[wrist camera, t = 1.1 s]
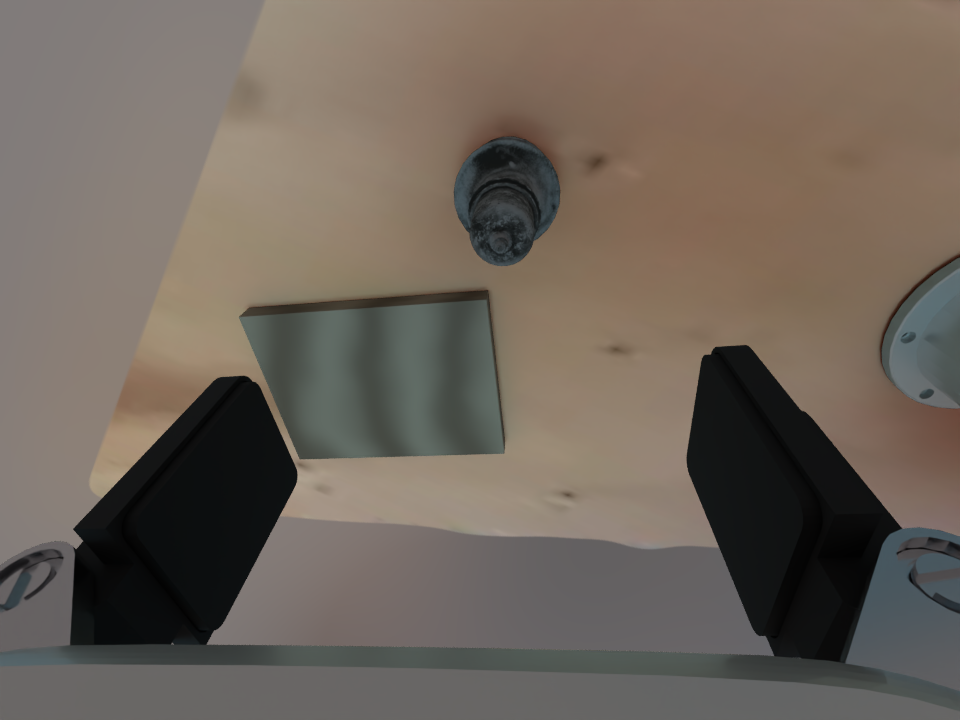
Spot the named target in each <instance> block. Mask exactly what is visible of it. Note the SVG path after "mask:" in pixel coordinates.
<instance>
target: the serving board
mask: <svg viewBox="0 0 960 720" xmlns="http://www.w3.org/2000/svg"><path fill="white" fill-rule="evenodd" d="M239 319H240V321H241V323H242V326H243V328H244V330H245V333H246V335H247V337H248V340H249V342H250V344H251V347H252V349H253V351H254V354H255V356H256V358H257V361H258V363H259V365H260V368H261V370H262V372H263V375H264V377H265V379H266V382H267V384H268V386H269V389H270V391H271V393H272V396H273V398H274V400H275V403H276V405H277V407H278V410H279V412H280V414H281V417H282V419H283V421H284V424H285V426H286V428H287V431H288V433H289V435H290V438H291V440H292V442H293V445H294V447H295V449H296V452H297V454H298V456H299V459H328V458H363V457H398V456H433V455H468V454H504V450H505V437H504V429H503V420H502V411H501V402H500V393H499V384H498V375H497V367H496V358H495V349H494V340H493V331H492V322H491V313H490V305H489V296H488V291H474V292H461V293H447V294H433V295H420V296H406V297H392V298H378V299H365V300H351V301H337V302H323V303H310V304H296V305H282V306H269V307H255V308H248V309H247V310H246V311H245V312H244V313H243V314H242V315H241V316H240V317H239Z"/></svg>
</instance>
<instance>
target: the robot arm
mask: <svg viewBox="0 0 960 720" xmlns="http://www.w3.org/2000/svg"><path fill="white" fill-rule="evenodd" d="M882 364H883V367H884V370H885V372H886V375H887V377H888V378H889V379H890V380H891V382H892V383H893V384H894V385H895V386H896V387H897V388H898V389H899V390H901V391H902V392H903V393H904V394H905V395H906V396H908V397H909V398H911V399H913V400H915V401H917V402H919V403H922V404H926V405H929V406H933V407H940V408H949V409H956V408H960V257H959V258H957V259H956V260H954V261H953V262H951V263H950V264H948V265H947V266H945V267H943V268H942V269H940V270H939V271H937V272H936V273H935V274H933V275H932V276H931V277H930V278H929V279H927V280H926V281H925V282H924V283H923V284H921V285H920V286H919V287H918V288H917V289H916V290H915V291H914V292H913V293H912V294H911V295H910V296H909V297H908V299H907V300H906V301H905V302H904V303H903V304H902V306H901V307H900V308H899V310H898V311H897V313H896V314H895V316H894V317H893V319H892V320H891V323H890V325H889V327H888V329H887V332H886V334H885V336H884V341H883V346H882ZM687 468H688V472H689V475H690V477H691V480H692V482H693V484H694V487H695V489H696V492H697V494H698V497H699V499H700V502H701V504H702V506H703V509H704V511H705V514H706V516H707V519H708V521H709V523H710V526H711V528H712V531H713V533H714V536H715V538H716V541H717V543H718V545H719V548H720V550H721V553H722V555H723V557H724V560H725V562H726V565H727V567H728V570H729V572H730V575H731V577H732V580H733V581H734V584H735V587H736V589H737V592H738V594H739V597H740V599H741V601H742V604H743V606H744V609H745V611H746V614H747V616H748V618H749V621H750V623H751V626H752V628H753V630H754V631H755V633H756V634H757V635H759V636H766V637H767V640H768V642H769V644H770V647H771V649H772V651H773V654H774V656H764V655H763V656H762V655H735V654H707V653H681V652H654V651H653V652H652V651H606V650H605V651H604V650H552V649H501V648H439V647H437V648H436V647H370V646H369V647H367V646H366V647H365V646H291V645H290V646H287V645H206V644H207V642H208V640H209V639H210V637H211V635H212V633H213V631H214V630H216V629H218V628H219V627H220V626H221V625H222V624H223V622H224V621H225V619H226V617H227V615H228V613H229V611H230V609H231V607H232V605H233V603H234V601H235V599H236V598H237V596H238V594H239V592H240V590H241V588H242V586H243V585H244V583H245V581H246V579H247V577H248V575H249V573H250V571H251V569H252V567H253V566H254V564H255V562H256V560H257V558H258V556H259V554H260V552H261V550H262V548H263V547H264V545H265V543H266V541H267V539H268V537H269V535H270V533H271V531H272V529H273V528H274V526H275V524H276V522H277V520H278V518H279V516H280V514H281V512H282V510H283V508H284V507H285V505H286V503H287V501H288V499H289V497H290V495H291V493H292V491H293V489H294V488H295V485H296V483H297V469H296V467H295V464H294V462H293V460H292V458H291V456H290V453H289V451H288V449H287V447H286V444H285V442H284V440H283V438H282V435H281V433H280V431H279V429H278V426H277V424H276V422H275V420H274V418H273V415H272V413H271V411H270V409H269V406H268V404H267V402H266V400H265V397H264V395H263V393H262V391H261V389H260V387H259V385H258V384H257V383H256V382H252V380H251V379H250V378H249V377H247V376H233V377H220V378H217V379H216V380H214V381H213V382H212V383H211V385H210V386H209V387H208V388H207V389H206V390H205V391H204V392H203V393H202V394H201V395H200V396H199V397H198V398H197V399H196V400H195V401H194V402H193V403H192V404H191V406H190V407H189V408H188V409H187V410H186V411H185V412H184V413H183V414H182V415H181V416H180V417H179V418H178V419H177V420H176V421H175V422H174V423H173V424H172V426H171V427H170V428H169V429H168V430H167V431H166V432H165V433H164V434H163V435H162V436H161V437H160V438H159V439H158V440H157V441H156V442H155V443H154V444H153V445H152V447H151V448H150V449H149V450H148V451H147V452H146V453H145V454H144V455H143V456H142V457H141V458H140V459H139V460H138V461H137V462H136V463H135V464H134V465H133V467H132V468H131V469H130V470H129V471H128V472H127V473H126V474H125V475H124V476H123V477H122V478H121V479H120V480H119V481H118V482H117V483H116V484H115V485H114V487H113V488H112V489H111V490H110V491H109V492H108V493H107V494H106V495H105V496H104V497H103V498H102V499H101V500H100V501H99V502H98V503H97V504H96V506H95V507H94V508H93V509H92V510H91V511H90V512H89V513H88V514H87V515H86V516H85V517H84V518H83V519H82V520H81V521H80V522H79V523H78V525H76V527H75V528H74V529H73V530H74V531H75V532H76V533H77V534H78V535H79V536H80V537H81V539H82V540H83V542H82V543H81V545H80V546H79V547H78V548H77V549H75V548H74V547H73V546H72V545H70V544H68V543H67V542H61V541H54V542H49V543H44V544H40V545H38V546H35V547H32V548H30V549H27V550H25V551H23V552H21V553H20V554H18V555H16V556H14V557H12V558H10V559H9V560H7V561H6V562H4V563H3V564H1V565H0V720H960V537H959V536H956V535H953V534H950V533H947V532H944V531H940V530H934V529H927V528H920V527H917V528H905V529H902V528H901V527H900V526H899V524H898V523H897V522H896V521H895V519H894V518H893V517H892V516H891V514H890V513H889V512H888V511H887V510H886V508H885V507H884V506H883V505H882V503H881V502H880V501H879V500H878V499H877V497H876V496H875V495H874V494H873V492H872V491H871V490H870V489H869V488H868V486H867V485H866V484H865V483H864V481H863V480H862V479H861V478H860V476H859V475H858V474H857V473H856V472H855V470H854V469H853V468H852V467H851V465H850V464H849V463H848V462H847V461H846V459H845V458H844V457H843V456H842V454H841V453H840V452H839V451H838V450H837V448H836V447H835V446H834V445H833V443H832V442H831V441H830V440H829V439H828V437H827V436H826V435H825V434H824V432H823V431H822V430H821V429H820V427H819V426H818V425H817V424H816V423H815V421H814V420H813V419H812V418H811V417H810V416H809V415H808V414H807V413H806V412H804V411H801V410H800V409H799V407H798V406H797V405H796V404H795V402H794V401H793V400H792V399H791V398H790V396H789V395H788V394H787V393H786V391H785V390H784V389H783V388H782V386H781V385H780V384H779V383H778V381H777V380H776V379H775V378H774V376H773V375H772V374H771V373H770V371H769V370H768V369H767V368H766V366H765V365H764V364H763V363H762V361H761V360H760V359H759V358H758V356H757V355H756V354H755V353H754V351H753V350H752V349H751V348H750V347H749V346H747V345H740V346H724V347H715V348H714V349H713V351H712V353H711V355H704V356H703V358H702V361H701V367H700V374H699V380H698V386H697V393H696V399H695V406H694V412H693V418H692V425H691V431H690V438H689V444H688V450H687ZM172 642H173V644H174V645H171V643H172Z"/></svg>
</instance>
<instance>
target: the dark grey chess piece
mask: <svg viewBox="0 0 960 720" xmlns="http://www.w3.org/2000/svg"><path fill="white" fill-rule="evenodd" d="M454 202H455V208H456V211H457V214H458V217H459V219H460V221H461V222H462V224H463V226H464V227H465V229H466V230H467V231H468V232H469V233H470V240H471V243H472V246H473V248H474V250H475V251H476V253H477V254H478V255H479V256H480V257H481V258H482V259H483V260H484V261H486V262H488V263H490V264H493V265H497V266H508V265H512V264H515V263H517V262H519V261H521V260H522V259H523V258H524V257H525V256H526V255H527V254H528V252H529V251H530V249H531V247H532V245H533V241H534V240H536V239H538V238H539V237H540V236H541V235H542V234H543V233H544V232H545V231H546V230H547V229H548V228H549V226H550V225H551V223H552V221H553V220H554V218H555V216H556V213H557V210H558V207H559V202H560V186H559V181H558V176H557V173H556V171H555V170H554V168H553V166H552V164H551V162H550V161H549V159H548V158H547V157H546V156H545V155H544V154H543V153H542V152H541V151H540V150H539V149H538V148H537V147H536V146H535V145H533V144H532V143H530V142H529V141H527V140H525V139H521V138H517V137H501V138H497V139H494V140H491V141H490V142H488V143H487V144H485V145H483V146H482V147H480V148H479V149H477V150H476V151H474V152H473V153H472V154H471V155H470V156H469V157H468V158H467V160H466V161H465V162H464V163H463V165H462V167H461V169H460V171H459V173H458V175H457V178H456V183H455V188H454Z"/></svg>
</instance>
